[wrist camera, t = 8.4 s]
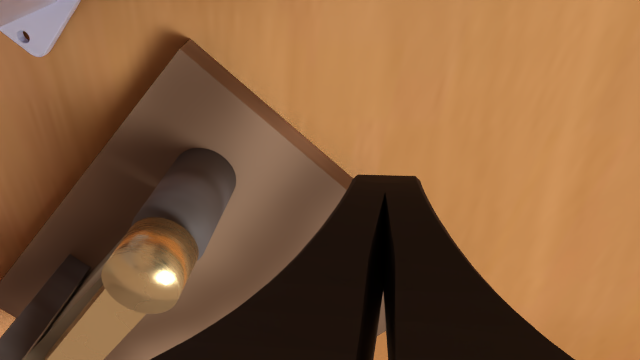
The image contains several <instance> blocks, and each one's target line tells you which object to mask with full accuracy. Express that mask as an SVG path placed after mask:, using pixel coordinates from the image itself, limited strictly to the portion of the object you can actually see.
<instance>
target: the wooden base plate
mask: <svg viewBox="0 0 640 360" xmlns="http://www.w3.org/2000/svg"><path fill="white" fill-rule="evenodd" d="M352 179H353V178H352V177H350V176H349V175H348V174H347V173H346V172H345V171H343V170H342V169H341V168H340V167H339V166H338V165H336V164H335V163H334V162H333V161H332V160H331V159H329V158H328V157H327V156H326V155H325V154H324V153H322V152H321V151H320V150H319V149H318V148H317V147H315V146H314V145H313V144H312V143H311V142H310V141H308V140H307V139H306V138H305V137H304V136H303V135H301V134H300V133H299V132H298V131H297V130H296V129H294V128H293V127H292V126H291V125H290V124H289V123H287V122H286V121H285V120H284V119H283V118H282V117H280V116H279V115H278V114H277V113H276V112H275V111H273V110H272V109H271V108H270V107H269V106H268V105H266V104H265V103H264V102H263V101H262V100H261V99H259V98H258V97H257V96H256V95H255V94H254V93H252V92H251V91H250V90H249V89H248V88H247V87H246V86H244V85H243V84H242V83H241V82H240V81H239V80H237V79H236V78H235V77H234V76H233V75H232V74H230V73H229V72H228V71H227V70H226V69H225V68H223V67H222V66H221V65H220V64H219V63H218V62H216V61H215V60H214V59H213V58H212V57H211V56H209V55H208V54H207V53H206V52H205V51H204V50H202V49H201V48H200V47H199V46H198V45H197V44H195V43H194V42H193V41H192V40H191V39H190V40H189V41H188V42H187V43H186V44H184V45H183V46H182V47H181V48H180V49H179V50H178V52H177V53H176V54H175V56H174V57H173V58H172V60H171V61H170V62H169V63H168V65H167V66H166V67H165V69H164V70H163V71H162V72H161V74H160V75H159V76H158V78H157V79H156V80H155V82H154V83H153V84H152V85H151V87H150V88H149V89H148V91H147V92H146V93H145V95H144V96H143V97H142V98H141V100H140V101H139V102H138V104H137V105H136V106H135V108H134V109H133V110H132V111H131V113H130V114H129V115H128V117H127V118H126V119H125V121H124V122H123V123H122V124H121V126H120V127H119V128H118V130H117V131H116V132H115V134H114V135H113V136H112V137H111V139H110V140H109V141H108V143H107V144H106V145H105V147H104V148H103V149H102V150H101V152H100V153H99V154H98V156H97V157H96V158H95V160H94V161H93V162H92V163H91V165H90V166H89V167H88V169H87V170H86V171H85V172H84V174H83V175H82V176H81V178H80V179H79V180H78V182H77V183H76V184H75V185H74V187H73V188H72V189H71V191H70V192H69V193H68V195H67V196H66V197H65V198H64V200H63V201H62V202H61V204H60V205H59V206H58V208H57V209H56V210H55V211H54V213H53V214H52V215H51V217H50V218H49V219H48V221H47V222H46V223H45V224H44V226H43V227H42V228H41V230H40V231H39V232H38V234H37V235H36V236H35V237H34V239H33V240H32V241H31V243H30V244H29V245H28V247H27V248H26V249H25V250H24V252H23V253H22V254H21V256H20V257H19V258H18V260H17V261H16V262H15V263H14V265H13V266H12V267H11V269H10V270H9V271H8V273H7V274H6V275H5V276H4V278H3V279H2V280H1V282H0V308H1V309H2V310H4V311H5V312H7V313H9V314H10V315H12V316H14V317H15V318H16V319H15V321H14V322H13V323H12V324H11V326H10V327H9V328H8V329H7V330H6V332H5V333H4V334H3V335H2V337H1V338H0V360H42V359H43V358H44V357H45V355H46V354H47V353H48V352H49V350H50V349H51V348H52V347H53V345H54V344H55V343H56V342H57V341H58V339H59V338H60V337H61V336H62V334H63V333H64V332H65V331H66V329H67V328H68V327H69V326H70V325H71V323H72V322H73V321H74V320H75V318H76V317H77V316H78V315H79V313H80V312H81V311H82V310H83V309H84V307H85V306H86V305H87V304H88V302H89V301H90V300H91V299H92V297H93V296H94V295H95V294H96V293H97V291H98V290H99V289H100V288H101V286H102V285H103V282H102V278H101V273H102V269H103V266H104V265H105V263H106V262H107V260H108V259H109V258H110V256H111V255H112V253H113V252H114V251H115V249H116V248H117V246H118V245H119V244H120V242H121V241H122V239H123V238H124V236H125V235H126V234H127V232H128V231H129V229H130V228H131V227H132V225H133V224H134V223H136V222H137V221H139V220H141V219H143V218H148V217H161V218H165V219H169V220H172V221H174V222H176V223H178V224H180V225H181V226H183V227H184V228H185V229H186V230H187V231H189V233H190V234H191V235H192V236H193V238H194V239H195V241H196V243H197V246H198V250H199V255H198V259H197V262H196V264H195V266H194V268H193V270H192V272H191V274H190V276H189V278H188V280H187V282H186V284H185V286H184V288H183V290H182V292H181V295H180V297H179V299H178V301H177V303H176V304H175V305H174V306H173V307H172V308H171V309H170V310H168V311H165V312H162V313H158V314H146V315H145V316H144V317H143V318H142V319H141V320H140V321H139V322H138V323H137V324H136V325H135V327H134V328H133V329H132V330H131V331H130V332H129V333H128V334H127V335H126V336H125V337H124V338H123V339H122V340H121V341H120V343H119V344H118V345H117V346H116V347H115V348H114V349H113V350H112V351H111V352H110V353H109V354H108V355H107V356H106V357H105V358H104V360H150V359H152V358H154V357H156V356H158V355H159V354H161V353H163V352H165V351H167V350H169V349H171V348H173V347H175V346H176V345H178V344H180V343H182V342H184V341H186V340H188V339H189V338H191V337H193V336H194V335H196V334H198V333H199V332H201V331H203V330H204V329H206V328H207V327H209V326H211V325H212V324H214V323H215V322H217V321H218V320H220V319H221V318H223V317H224V316H226V315H227V314H229V313H230V312H232V311H233V310H235V309H236V308H237V307H239V306H240V305H241V304H243V303H244V302H245V301H247V300H248V299H249V298H250V297H252V296H253V295H254V294H255V293H257V292H258V291H259V290H260V289H261V288H263V287H264V286H265V285H266V284H267V283H269V282H270V281H271V280H272V279H273V278H274V277H275V276H276V275H277V274H278V273H280V272H281V271H282V270H283V269H284V268H285V267H286V266H287V265H288V264H289V263H290V262H291V261H292V260H293V259H294V258H295V257H296V256H297V255H298V254H299V253H300V252H301V250H302V249H303V248H304V247H305V246H306V245H307V243H308V242H309V241H310V240H311V239H312V238H313V236H314V235H315V234H316V233H317V232H318V231H319V229H320V228H321V227H322V226H323V224H324V223H325V222H326V220H327V219H328V217H329V216H330V215H331V213H332V212H333V211H334V209H335V208H336V206H337V205H338V203H339V202H340V200H341V199H342V197H343V196H344V194H345V192H346V191H347V189H348V187H349V185H350V184H351V181H352ZM385 331H386V321H385V307H384V293H383V296H382V303H381V310H380V317H379V324H378V331H377V336H378V335H380V334H381V333H383V332H385Z"/></svg>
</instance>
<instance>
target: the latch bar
mask: <svg viewBox="0 0 640 360" xmlns="http://www.w3.org/2000/svg"><path fill="white" fill-rule="evenodd" d="M198 255H199V250H198V246H197V243H196V241H195V239H194V238H193V236H192V235H191V234H190V233H189V231H187V230H186V229H185V228H184V227H183V226H181V225H180V224H178V223H176V222H174V221H172V220H169V219H165V218H161V217H148V218H143V219H141V220H139V221H137V222H136V223H134V224H133V225H132V227H131V228H130V229H129V231H128V232H127V234H126V235H125V236H124V238H123V239H122V241H121V242H120V244H119V245H118V246H117V248H116V249H115V251H114V252H113V253H112V255H111V256H110V258H109V259H108V260H107V262H106V263H105V265H104V266H103V269H102V273H101V278H102V282H103V285H102V286H101V288H100V289H99V290H98V291H97V293H96V294H95V295H94V296H93V297H92V299H91V300H90V301H89V302H88V304H87V305H86V306H85V307H84V309H83V310H82V311H81V312H80V313H79V315H78V316H77V317H76V318H75V320H74V321H73V322H72V323H71V325H70V326H69V327H68V328H67V329H66V331H65V332H64V333H63V334H62V336H61V337H60V338H59V339H58V341H57V342H56V343H55V344H54V345H53V347H52V348H51V349H50V350H49V352H48V353H47V354H46V355H45V357H44V358H43V359H42V360H104V358H105V357H106V356H107V355H108V354H109V353H110V352H111V351H112V350H113V349H114V348H115V347H116V346H117V345H118V344H119V343H120V341H121V340H122V339H123V338H124V337H125V336H126V335H127V334H128V333H129V332H130V331H131V330H132V329H133V328H134V327H135V325H136V324H137V323H138V322H139V321H140V320H141V319H142V318H143V317H144V316H145V315H146V314H158V313H162V312H165V311H168V310H170V309H171V308H172V307H173V306H174V305H175V304H176V303H177V301H178V299H179V297H180V295H181V292H182V290H183V288H184V286H185V284H186V282H187V280H188V278H189V276H190V274H191V272H192V270H193V268H194V266H195V264H196V262H197V259H198Z"/></svg>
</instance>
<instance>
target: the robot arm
mask: <svg viewBox="0 0 640 360" xmlns="http://www.w3.org/2000/svg"><path fill="white" fill-rule="evenodd" d="M80 1H81V0H0V31H1V32H2V33H4V34H5V35H6V36H8V37H9V38H10V39H12V40H13V41H14V42H15V43H17V44H18V45H19V46H21V47H22V48H23V49H25V50H26V51H27V52H28V53H30V54H31V55H33V56H36V57H42V56H45V55H46V54H48V53H49V52H50V51H51V49H52V47H53V46H54V44H55V43H56V41H57V39H58V38H59V36H60V34H61V33H62V31H63V29H64V28H65V26H66V24H67V23H68V21H69V19H70V18H71V16H72V14H73V13H74V11H75V10H76V8H77V6H78V5H79V3H80ZM23 31H25V32H26V33H27V34H28V35H29V37H30V40H28V39H26V38H25V36H24V34H23ZM383 293H384V307H385V321H386V335H387V348H388V360H575V359H573V358H572V357H571V356H569V355H568V354H567V353H565V352H564V351H563V350H561V349H560V348H558V347H557V346H556V345H554V344H553V343H552V342H551V341H549V340H548V339H547V338H546V337H544V336H543V335H542V334H541V333H540V332H539V331H537V330H536V329H535V328H534V327H533V326H532V325H530V324H529V323H528V322H527V321H526V320H525V319H524V318H522V317H521V316H520V315H519V314H518V313H517V312H516V311H514V310H513V309H512V308H511V307H510V306H509V305H508V304H507V303H506V302H505V301H504V300H503V299H502V298H501V297H500V296H499V295H498V294H497V293H496V292H495V291H494V290H493V289H492V287H491V286H490V285H489V284H488V283H487V282H486V281H485V280H484V279H483V278H482V277H481V275H480V274H479V273H478V272H477V271H476V270H475V268H474V267H473V266H472V265H471V263H470V262H469V261H468V260H467V258H466V257H465V256H464V254H463V253H462V252H461V251H460V249H459V248H458V247H457V245H456V244H455V242H454V241H453V239H452V238H451V237H450V235H449V234H448V232H447V230H446V229H445V227H444V226H443V224H442V223H441V221H440V220H439V218H438V216H437V215H436V213H435V211H434V210H433V208H432V206H431V204H430V202H429V200H428V198H427V196H426V194H425V192H424V190H423V188H422V185H421V182H420V180H419V179H418V178H417V177H416V176H387V175H357V176H356V177H355V178H353V179H352V181H351V184H350V185H349V187H348V189H347V191H346V192H345V194H344V196H343V197H342V199H341V200H340V202H339V203H338V205H337V206H336V208H335V209H334V211H333V212H332V213H331V215H330V216H329V217H328V219H327V220H326V222H325V223H324V224H323V226H322V227H321V228H320V229H319V231H318V232H317V233H316V234H315V235H314V236H313V238H312V239H311V240H310V241H309V242H308V243H307V245H306V246H305V247H304V248H303V249H302V250H301V252H300V253H299V254H298V255H297V256H296V257H295V258H294V259H293V260H292V261H291V262H290V263H289V264H288V265H287V266H286V267H285V268H284V269H283V270H282V271H281V272H280V273H278V274H277V275H276V276H275V277H274V278H273V279H272V280H271V281H270V282H269V283H267V284H266V285H265V286H264V287H263V288H261V289H260V290H259V291H258V292H257V293H255V294H254V295H253V296H252V297H250V298H249V299H248V300H247V301H245V302H244V303H243V304H241V305H240V306H239V307H237V308H236V309H235V310H233V311H232V312H230V313H229V314H227V315H226V316H224V317H223V318H221V319H220V320H218V321H217V322H215V323H214V324H212V325H211V326H209V327H207V328H206V329H204V330H203V331H201V332H199V333H198V334H196V335H194V336H193V337H191V338H189V339H188V340H186V341H184V342H182V343H180V344H178V345H176V346H175V347H173V348H171V349H169V350H167V351H165V352H163V353H161V354H159V355H158V356H156V357H154V358H152V359H150V360H373V358H374V351H375V344H376V338H377V331H378V324H379V317H380V310H381V303H382V296H383Z"/></svg>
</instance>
